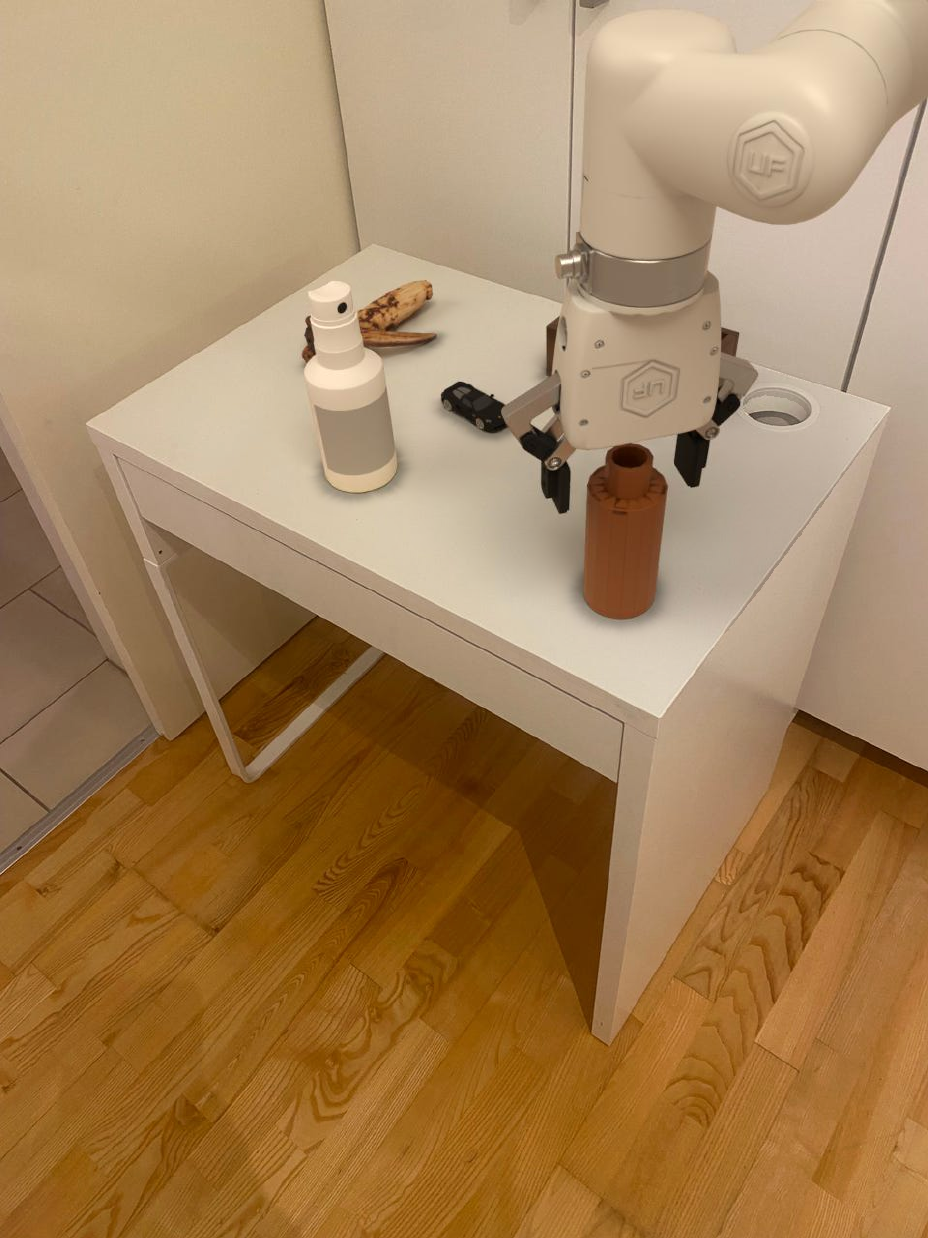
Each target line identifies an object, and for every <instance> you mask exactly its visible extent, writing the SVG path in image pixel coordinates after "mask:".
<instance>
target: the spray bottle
mask: <svg viewBox="0 0 928 1238" xmlns="http://www.w3.org/2000/svg"><path fill="white" fill-rule="evenodd" d="M307 296H308V302H309V307H310V316H311V318H310V321H311V326H312V331H313V336H314V346H315V351H316V355H315V356H313V357H312V359H311V360H310V361H309V362H308V363H306V364H305V367H304V369H303V379H304V383H305V387H306V392H307V396H308V401H309V406H310V412H311V415H312V420H313V424H314V429H315V434H316V439H317V444H318V449H319V452H320V456H321V457H320V458H321V461H322V466H323V471H324V475H325V479H326V480H327V481H328V482H329V483H330V485H331V486H333V487H334V488H335V489H337V490H339V491H343V492H346V493H365V492H371V491H374V490H377V489H379V488H382V487H384V486H385V485H386V484H388V483H389V482H390V481H391V480H392V479H393V478H394V476H395V475H396V473H397V470H398V465H399V464H398V463H399V462H398V456H397V450H396V443H395V436H394V429H393V428H394V427H393V423H392V422H393V421H392V416H391V409H390V401H389V394H388V388H387V381H386V374H385V367H384V363H383V360H382V357H381V356H380V355H379V354H377V353H376V351H374V350H372V349H370V348H369V347H365V346H364V345H363V339H362V335H361V333H360V326H359V320H358V314H357V311H358V310H357V309H356V308H355V305H354V301H353V295H352V290H351V287H350V285H349V284H348V283H346V282H344V281H339V280H331V281H329V282H328V283H326V284H325V285H322V286H320V287H319V288H316V289H313V290H308V292H307Z"/></svg>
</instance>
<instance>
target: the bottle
mask: <svg viewBox="0 0 928 1238" xmlns="http://www.w3.org/2000/svg"><path fill="white" fill-rule="evenodd" d="M604 460H605V461H604V465H601V466H600V467H597V468H596V469H595V471H593V472H592V473H591V474H590V475H589V478H588V481H587V484H586V503H585V529H584V530H585V531H584V554H583V555H584V558H583V584H582V590H583V598H584V600H585V602H586V604H587V606H588V607H589V608H590V609H591V610H592V611H594V612H595V613H596V614H598V615H601V616H603V617H606V618H608V619H609V618H610V619H615V620H627V619H633V618H636V617H639V616H641V615H642V614H645V613H646V612H647V611H648V610H649V609H650V608H651V607H652V606H653V603H654V601H655V598H656V592H657V585H658V577H659V568H660V560H661V559H660V558H661V552H662V551H661V550H662V542H663V541H662V540H663V532H664V524H665V515H666V507H667V498H668V488H669V486H668V482H667V480H666V477H665V475H663V474H662V473H661V472H660V471H659V470H658V469H657V468H655V467H654V466H653V465H654V455H653V453H652V451H651V450H650V449H649V448H648V447H646V446H644V445H642V444H640V443H635V442H634V443H629V444H624V445H618V446H613V447H610V449H608V450H607V452H606V455H605V459H604Z"/></svg>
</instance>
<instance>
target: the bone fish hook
mask: <svg viewBox="0 0 928 1238" xmlns="http://www.w3.org/2000/svg"><path fill="white" fill-rule="evenodd" d="M433 290H434V289H433V284H432V283H431V282H430V281H427V279H424V280H415V281H411V282H407V283H406V284H403V285H401V286H399V287H397V288H395V289H394V290H391V291H388V292H386V293H385V294H383V295H382V296H380V297H378V298H376V299H375V300H373V301H372V302H370V303H369V304H368V305H366V306H365V307H364V308H362V309H359V310H356V311H357V314H358V320H359V326H360V333H361V335H362V339H363V345H364V347H365V348H371V347H372V348H397V347H410V346H411V347H412V346H420V345H424V344H427V343H429V342H431V341H433V340H435V339H436V338H437V336H438V334H437V333H434V332H416V331H415V332H413V331H411V332H410V331H392V330H394V329H396V327H397V326H398V325H399V324H400V323H401V322H403V321H404V320H406V319H407V318H409V317H410V316H411V315H412V314H413V313H415V312H416V311H418V310H419V309H420V308H421V307H423V306H424V305H425V304H426V301H430V300H432V298H433V296H434V292H433ZM310 318H311V315H307V316H306V317H305V320H304V322H305V323H306V326H307V327H306V328H305V332H304V335H303V336H304V338H305V340H306V344H307V345H305V347H304V348H303V350H302V352H301V357H302V359H303V360H304V361H305V363H306V364H307V363H308V362H309V361H310V360H311V359H312V357H313V356H315V355H316V351H315V346H314V336H313V331H312V326H311V321H310Z"/></svg>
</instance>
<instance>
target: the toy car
mask: <svg viewBox="0 0 928 1238" xmlns="http://www.w3.org/2000/svg"><path fill="white" fill-rule="evenodd" d="M494 397H495V394H494V393H491V394H487V393H485V392H484V391H482V390H480V389H478V388H476V387H475V386H474V385H473V384H471V383H467V382H464V381H457V382H455V383H454V384H453V383H452V385H449V386H448V387H446V388H444V389H443V391H442V392H441V393H440V402H441V403H442V404H443V406H444V408H445V409H446V410H447V411H449V412H451V411H453V412H454V413H456V414H457V415H459V416H461V417H463V418H464V419H466V420H468V421H469V422H471V423H472V424H473V425H476V426H477V428H478V429H479V430H482V431H486V432H498V431H500V430H502V429H504V428H506V427H508V426H507V425H506V422H505V420H504V418H503V416H502V413H501V410H502V408H503V407H504V406H505V405H506V404H505V403H503V402H502V401H500V400H498V399H497V398H494Z"/></svg>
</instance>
